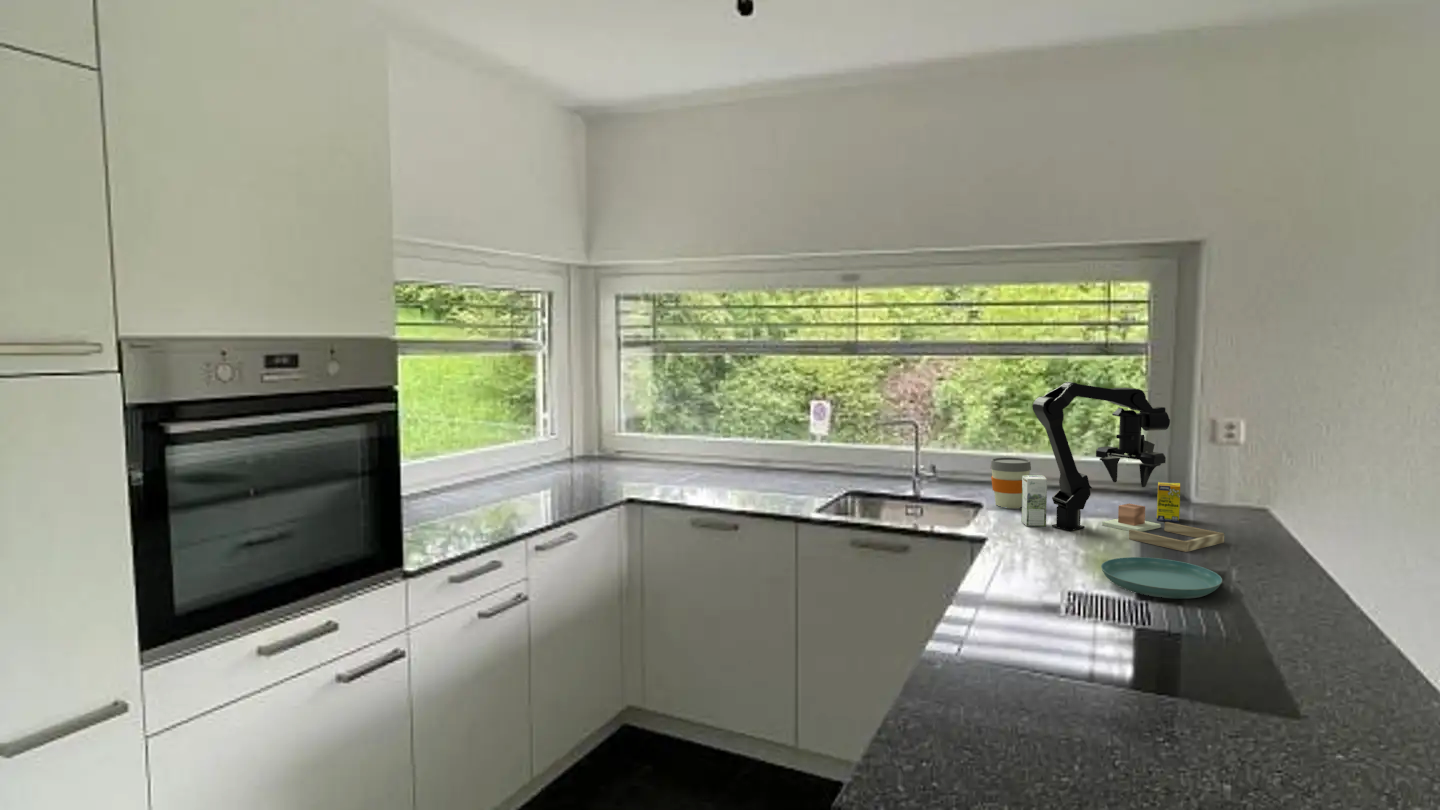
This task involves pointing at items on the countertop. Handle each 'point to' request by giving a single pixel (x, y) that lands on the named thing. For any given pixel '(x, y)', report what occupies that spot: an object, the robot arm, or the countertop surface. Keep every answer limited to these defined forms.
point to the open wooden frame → (1201, 541)
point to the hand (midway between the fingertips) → (1129, 484)
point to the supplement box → (1168, 502)
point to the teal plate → (1161, 577)
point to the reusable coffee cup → (1009, 480)
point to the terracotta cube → (1131, 514)
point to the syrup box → (1034, 500)
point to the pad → (1127, 527)
